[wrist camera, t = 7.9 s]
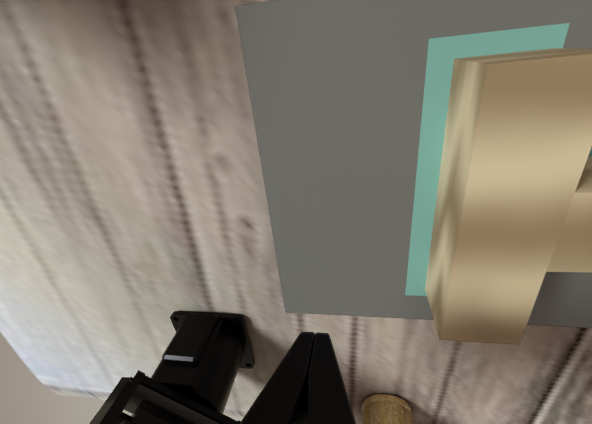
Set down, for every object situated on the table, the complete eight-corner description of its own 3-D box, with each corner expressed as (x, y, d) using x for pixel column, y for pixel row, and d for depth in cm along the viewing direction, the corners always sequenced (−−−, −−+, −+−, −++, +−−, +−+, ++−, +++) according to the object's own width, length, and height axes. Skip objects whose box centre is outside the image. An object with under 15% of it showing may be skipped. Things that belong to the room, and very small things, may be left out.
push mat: (650, 325, 20) (655, 331, 19) (286, 308, 24) (285, 312, 24) (923, -95, 10) (944, -100, 10) (238, 6, 15) (235, 6, 14)
